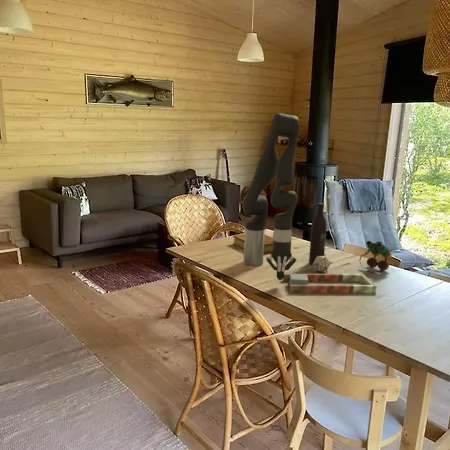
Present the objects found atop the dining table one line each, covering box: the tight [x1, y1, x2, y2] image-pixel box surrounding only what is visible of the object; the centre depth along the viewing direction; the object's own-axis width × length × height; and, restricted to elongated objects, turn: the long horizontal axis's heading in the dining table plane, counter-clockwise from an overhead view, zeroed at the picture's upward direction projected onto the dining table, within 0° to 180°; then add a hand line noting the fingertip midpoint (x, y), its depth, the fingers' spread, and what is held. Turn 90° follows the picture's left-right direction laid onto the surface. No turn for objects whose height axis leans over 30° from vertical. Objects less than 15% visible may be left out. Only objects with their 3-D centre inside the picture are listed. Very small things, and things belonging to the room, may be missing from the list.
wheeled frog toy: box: [359, 240, 393, 274], centre depth 209 cm, size 14×14×15 cm
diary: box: [232, 233, 273, 255], centre depth 243 cm, size 23×19×6 cm
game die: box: [310, 253, 333, 274], centre depth 206 cm, size 9×8×10 cm
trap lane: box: [282, 273, 378, 294], centre depth 187 cm, size 36×15×3 cm, turn 94°
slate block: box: [288, 273, 309, 286], centre depth 186 cm, size 7×7×4 cm
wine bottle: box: [308, 202, 328, 265], centre depth 215 cm, size 7×7×30 cm
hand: (280, 279), depth 185 cm, fingers closed
